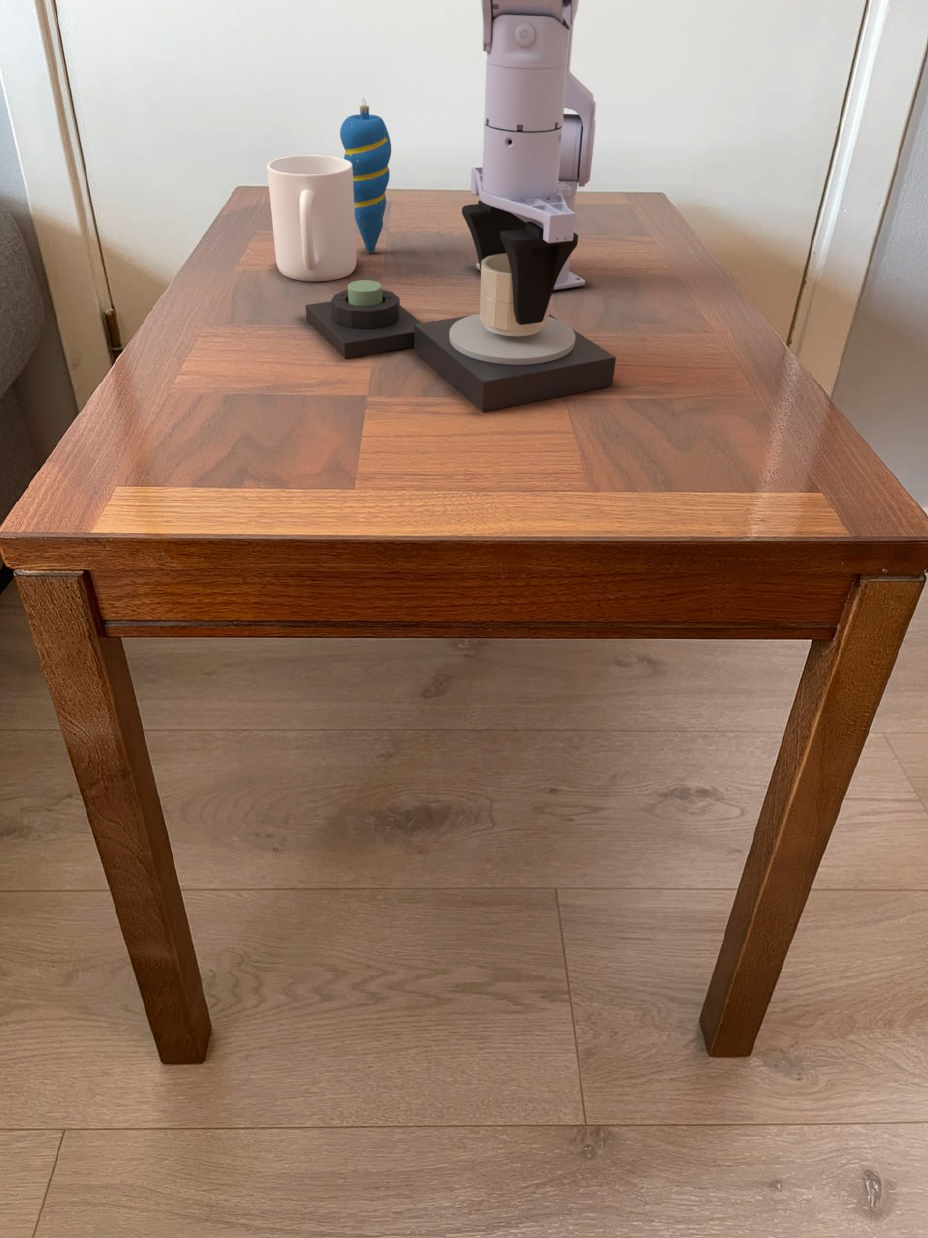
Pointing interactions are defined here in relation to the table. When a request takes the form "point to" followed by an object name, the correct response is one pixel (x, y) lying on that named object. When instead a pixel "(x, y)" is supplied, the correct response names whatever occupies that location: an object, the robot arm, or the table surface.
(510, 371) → the scale
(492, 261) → the beige handleless cup
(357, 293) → the button
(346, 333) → the pad
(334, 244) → the cup
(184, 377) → the table surface
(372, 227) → the ornament
